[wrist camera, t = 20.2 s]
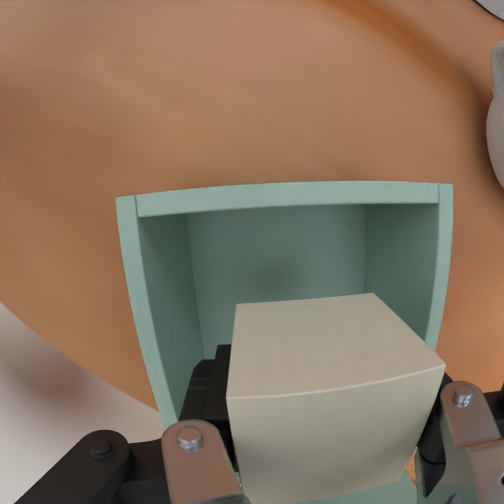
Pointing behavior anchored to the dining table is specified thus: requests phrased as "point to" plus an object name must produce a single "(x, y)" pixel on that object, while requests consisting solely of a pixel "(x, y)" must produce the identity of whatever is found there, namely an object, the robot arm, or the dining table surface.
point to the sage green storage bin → (275, 261)
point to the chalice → (494, 7)
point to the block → (326, 396)
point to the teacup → (496, 113)
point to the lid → (376, 494)
